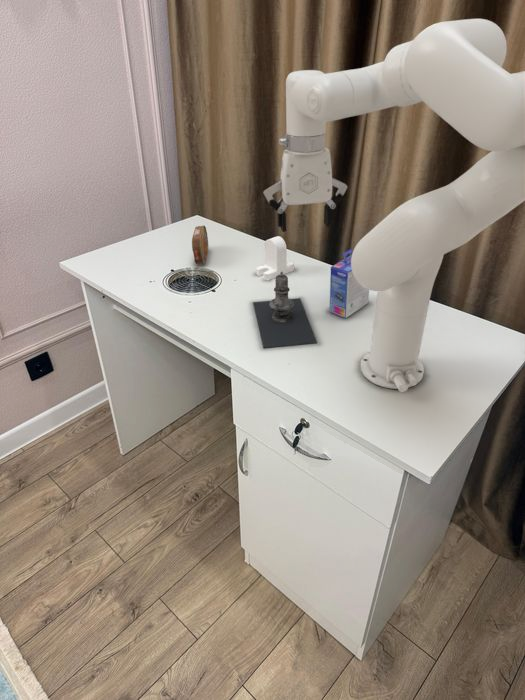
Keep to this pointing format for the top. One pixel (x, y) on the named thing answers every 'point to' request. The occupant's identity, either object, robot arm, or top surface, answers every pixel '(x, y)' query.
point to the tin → (200, 245)
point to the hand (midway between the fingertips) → (305, 227)
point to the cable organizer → (274, 259)
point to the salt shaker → (281, 300)
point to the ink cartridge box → (346, 289)
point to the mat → (283, 326)
